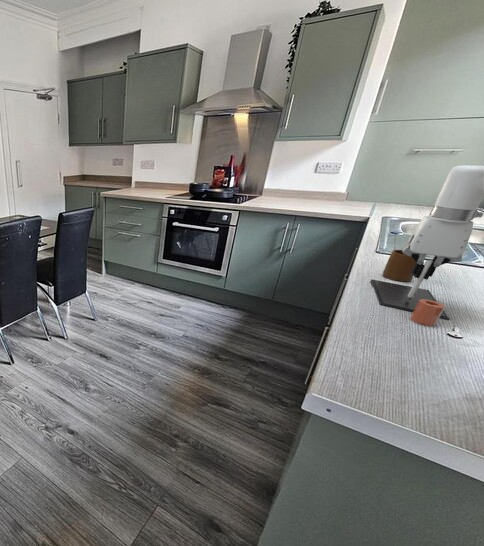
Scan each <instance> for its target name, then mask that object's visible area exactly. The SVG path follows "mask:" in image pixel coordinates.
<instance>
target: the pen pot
mask: <svg viewBox="0 0 484 546" xmlns="http://www.w3.org/2000/svg"><path fill="white" fill-rule="evenodd" d="M436 301H437V300H436ZM436 301H432V300H427V299H420V300H419V301H418V303H417V305H416V307H415V309H414V311H413V312H411V315H410V317H409V319H410V320H411V321H413V322H415V323H416V324H419V325H423V326H426V327H427V326H429V327H434V326H435V325H436V324H437V323H438V321H439V319H440V318H439V317H440V316H441V314H442V312H443V310H444V311H445V309H446V305H445V304H443V303H441V302H439V301H437V302H436Z"/></svg>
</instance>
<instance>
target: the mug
mask: <svg viewBox="0 0 484 546" xmlns="http://www.w3.org/2000/svg"><path fill="white" fill-rule="evenodd" d="M402 250H403V249H394V250H392V252H391V253H390V254H389V258H388V260H387V262H386V264H385V265H384V269H383V271H382V276H384V278H387V279H389V280H392V281H396V282H403V283H404V282H405V283H406V282H407V283H408V282H411V281H412V280H413V278H414V276H413V273H412V269H413V267H414V265H415V263H416V261H415V260H414V259H413V258H412V257H411V256H408V255H406V254H404V253H403V252H402ZM414 253H415V252H414ZM416 254H417V253H416Z"/></svg>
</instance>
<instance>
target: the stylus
mask: <svg viewBox="0 0 484 546" xmlns="http://www.w3.org/2000/svg"><path fill="white" fill-rule="evenodd" d="M432 262H433V261H432V259H426V261H424V264H423V265H424V268H423V270H422V272H421V274H420V276H419V278H415V281H414V283H413V285H412V286H411V287H412V288H411V290H410V292H409V294H408V297H407V299H408V300H411V299H412V298H413V297H414V295H415V293H416V291H417V289H418V288H420V286H421V284H422V282H423V281H424V276H425V275H426V273H427V271H428V269H429V267H430V266H431V264H432Z"/></svg>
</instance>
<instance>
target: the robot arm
mask: <svg viewBox="0 0 484 546" xmlns="http://www.w3.org/2000/svg"><path fill="white" fill-rule="evenodd" d="M483 198H484V165H474V164H460V165H456V166H454V167H452V168H451V169H450V171H449V172H448V173H447V176H446V178H445V180H444V183H443V185H442V187H441V189H440V191H439V194H438V196H437V198H436V200H435V202H434V204H433V206H432V208H431V211H430V213H429V215H424V216H423V217H422V218H421V220H420V221H419V223H417V226H416V227H415V229H414V230H413V232H412V233H411V236H409V238H408V239H409V241H408V243H407V246H406V247H405V248H404V247H403V249H401V250H402V252H403V253H404V254H406V255H408V256H411V257H412V258H413V259H414V260H415V261H416V263H415V265H414V267H413V269H412V273H413V278H415V279H417V278H419V276H420V274H421V272H422V270H423V268H424V264H425V259H426V257H427V255H428V256H433V258H432V259H431V260H432V261H433V262H432V264H431V266H430V267H429V269H428V271H427V273H426V275H425V276H424V278H423V280H429V278H430V277H431V278H432V277H433V275H434V273H435V271H436V269H437V268H439V267H441V266H443V265H446V264H448V263H461V262H462V261H463V260H462V259H463V253H464V251H465V250H466V248H467V246H468V243H469V240H470V239H471V235H472V233H473V232H472V231H473V227H474V221H473V220H474V219H476V218H478V219H479V218H480V219H481V218H482V217H483V215H484V212H481V211H478V208H479V206H480V204H481V202H482V200H483ZM414 252H415V253H414ZM416 253H417V254H416Z"/></svg>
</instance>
